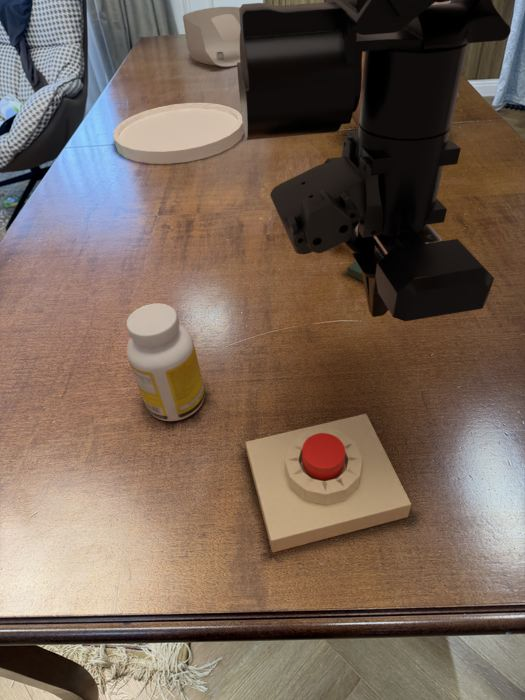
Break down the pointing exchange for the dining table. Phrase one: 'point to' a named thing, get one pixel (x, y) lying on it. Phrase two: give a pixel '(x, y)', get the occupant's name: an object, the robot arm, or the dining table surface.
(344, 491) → the button box
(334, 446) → the button
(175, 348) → the pill bottle
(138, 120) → the plate
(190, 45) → the grey curved shell
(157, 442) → the dining table surface
